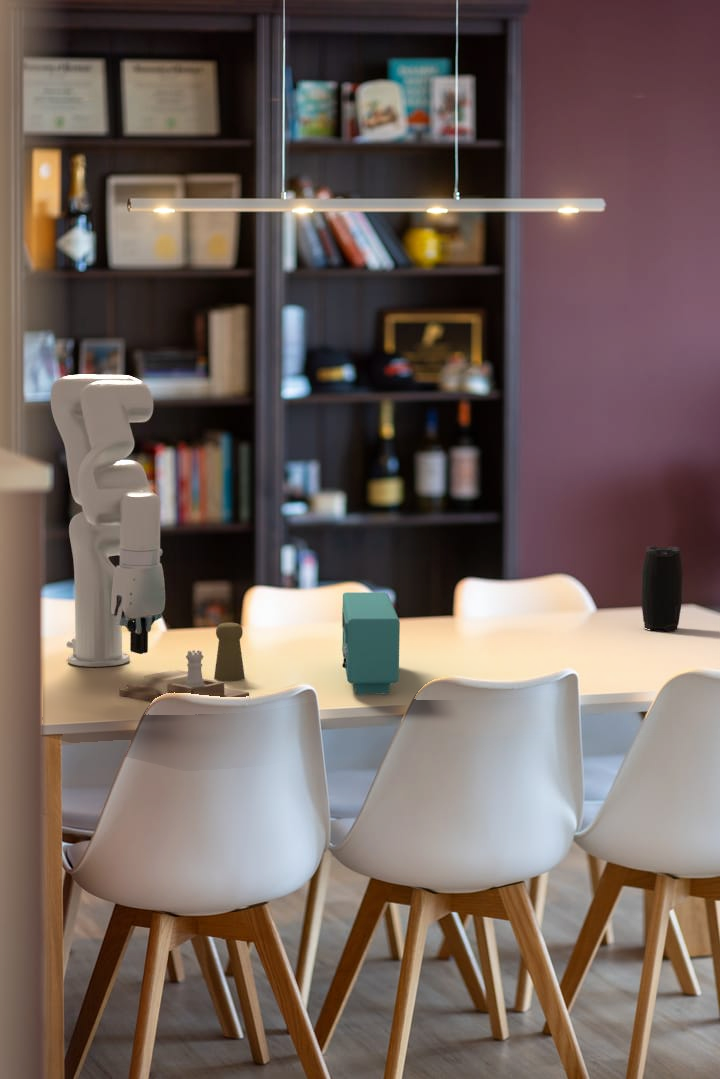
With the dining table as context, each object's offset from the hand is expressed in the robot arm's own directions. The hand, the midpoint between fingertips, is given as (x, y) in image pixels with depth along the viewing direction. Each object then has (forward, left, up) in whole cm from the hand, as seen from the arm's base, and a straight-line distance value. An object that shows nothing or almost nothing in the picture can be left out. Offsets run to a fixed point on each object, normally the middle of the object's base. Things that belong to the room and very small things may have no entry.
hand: (139, 652), depth 283 cm
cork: (+7, +17, -7) cm, 20 cm away
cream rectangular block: (+11, -2, -6) cm, 12 cm away
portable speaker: (+44, +125, -7) cm, 133 cm away
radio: (+28, +34, -7) cm, 45 cm away
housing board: (+13, -1, -7) cm, 15 cm away
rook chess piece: (+17, -2, -6) cm, 18 cm away
